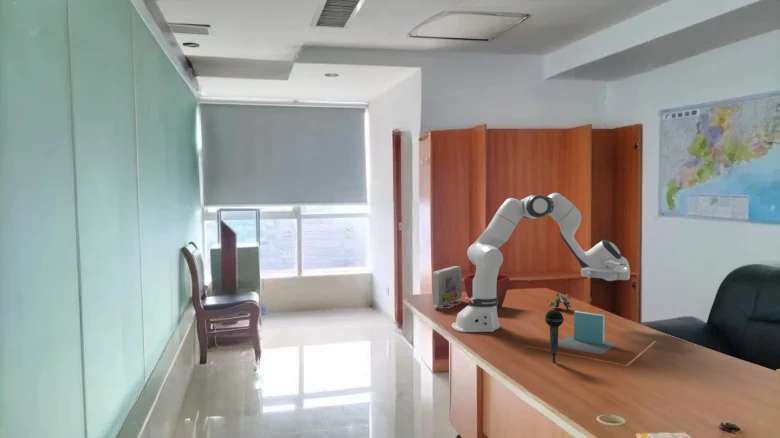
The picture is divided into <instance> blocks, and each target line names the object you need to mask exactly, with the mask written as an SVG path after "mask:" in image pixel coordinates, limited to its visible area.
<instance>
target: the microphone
mask: <svg viewBox="0 0 780 438" xmlns="http://www.w3.org/2000/svg"><path fill="white" fill-rule="evenodd" d="M544 320H545V324H547V326H549V349H550V350H549V352H550V354H551V356H552V360H551V362H552V363H555V362H557V361H556V356H557V355H558V349H559V348H558V347H559V346H558V342H559V327H560V326H562V324H563V323H564V322H563V321H564V320H565V319H564V316H563V314H562V313H561V312H560V311H559V310H557V309H554V310H553V309H551V310H549V311H548V312H547V313H545V316H544Z"/></svg>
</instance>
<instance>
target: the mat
mask: <svg viewBox="0 0 780 438" xmlns="http://www.w3.org/2000/svg"><path fill="white" fill-rule="evenodd" d="M616 345H617V342H610V341H606V340H604V344H603V345H601V344H595V343H589V342H584V341H578V340H574V335H571V334H569V335H568V336H566V337H564V338H563V339H561V340H558V347H559V348H560V347H561V348H564V349H569V350H570V349H571V350H576V351H580V352H587V353H591V354H595V355H596V354H597V355H603V354H604V353H606V352H607V351H608V350H610V349H612V348H613V347H615V346H616Z"/></svg>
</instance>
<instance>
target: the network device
mask: <svg viewBox="0 0 780 438" xmlns="http://www.w3.org/2000/svg"><path fill="white" fill-rule="evenodd" d="M462 270H463V269H462V266H457V265H453V266H450V267H445V268H442V269H438V270H435V271H433V272H432V305H433V306H434V308H435V307H437V308H436V309H442V308H448V309H451V308H453V307H456V306H458V304H459V305H461V304H462V300H459V299H461V298H462V294H463V286H462V285H463V282H462V281H463V280H462V279H463V274H462V273H463V271H462ZM452 301H454V302H452ZM458 302H459V303H458ZM460 303H461V304H460ZM448 305H450V306H448ZM455 305H456V306H455ZM450 307H451V308H450Z"/></svg>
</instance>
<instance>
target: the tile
mask: <svg viewBox="0 0 780 438" xmlns="http://www.w3.org/2000/svg"><path fill="white" fill-rule="evenodd" d="M605 316H606V315H605V314H602V313H601V314H600V313H593V312H587V311H579V310H575V311H574V312H573V336H574V340H578V341H584V342H589V343H595V344H601V345H603V344H604V341H605V335H606V333H605V328H606V326H605V324H606V321H605V320H606V317H605Z"/></svg>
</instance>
